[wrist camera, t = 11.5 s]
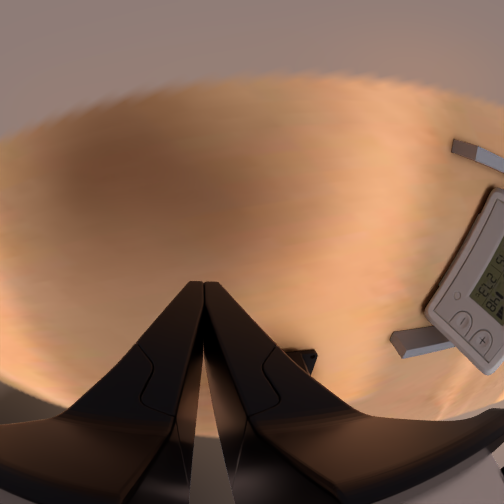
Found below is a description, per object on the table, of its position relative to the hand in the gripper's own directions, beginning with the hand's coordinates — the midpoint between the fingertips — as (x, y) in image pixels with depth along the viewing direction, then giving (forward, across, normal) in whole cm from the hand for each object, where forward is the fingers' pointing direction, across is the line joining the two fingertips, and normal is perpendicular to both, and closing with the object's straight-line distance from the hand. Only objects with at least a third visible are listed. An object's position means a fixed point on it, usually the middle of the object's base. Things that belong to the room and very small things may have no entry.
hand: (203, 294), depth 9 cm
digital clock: (+12, -27, +4) cm, 30 cm away
